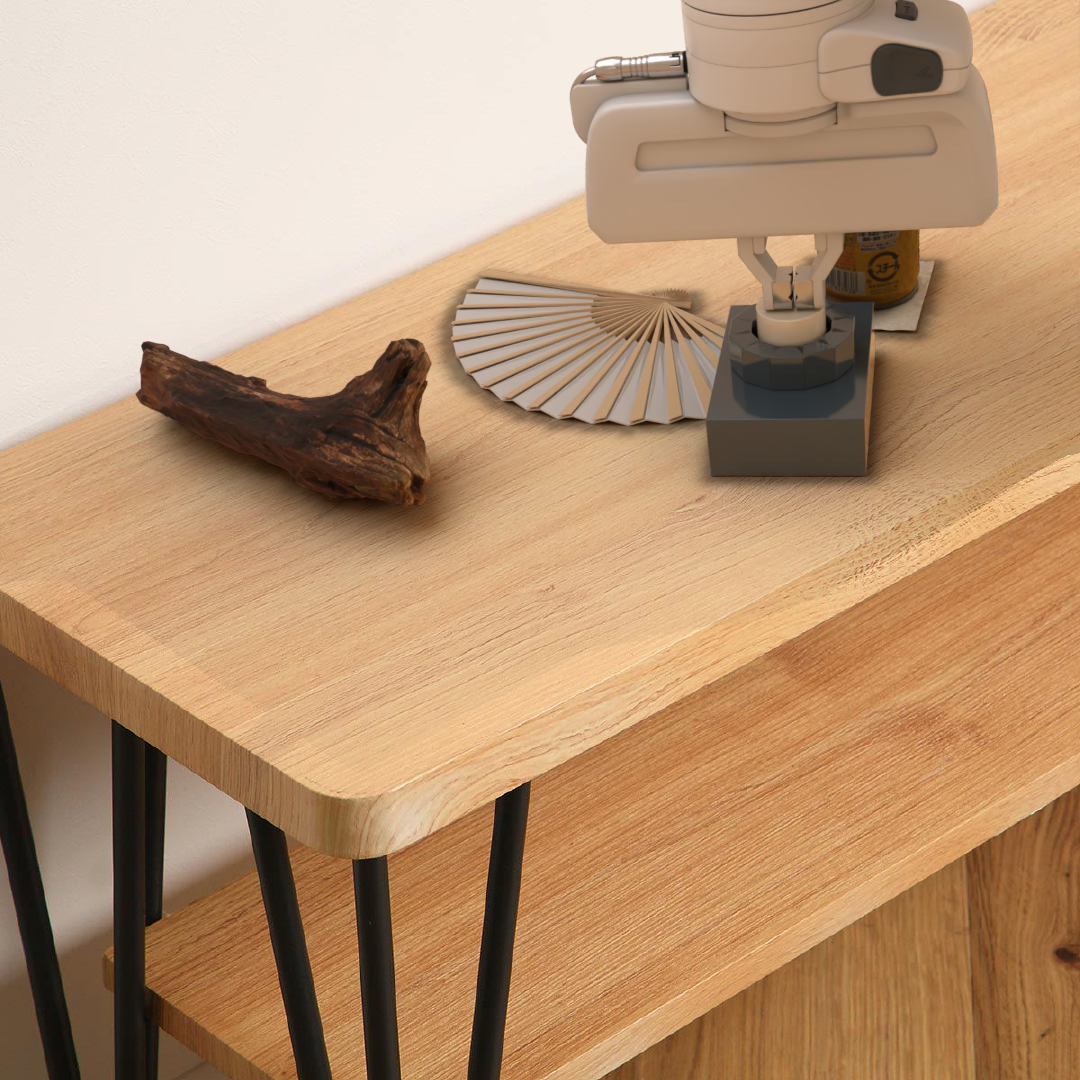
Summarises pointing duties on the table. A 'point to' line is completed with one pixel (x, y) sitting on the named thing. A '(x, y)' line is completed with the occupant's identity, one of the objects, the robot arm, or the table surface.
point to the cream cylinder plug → (790, 325)
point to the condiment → (882, 276)
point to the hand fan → (586, 350)
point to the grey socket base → (793, 398)
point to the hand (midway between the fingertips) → (795, 304)
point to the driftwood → (307, 421)
